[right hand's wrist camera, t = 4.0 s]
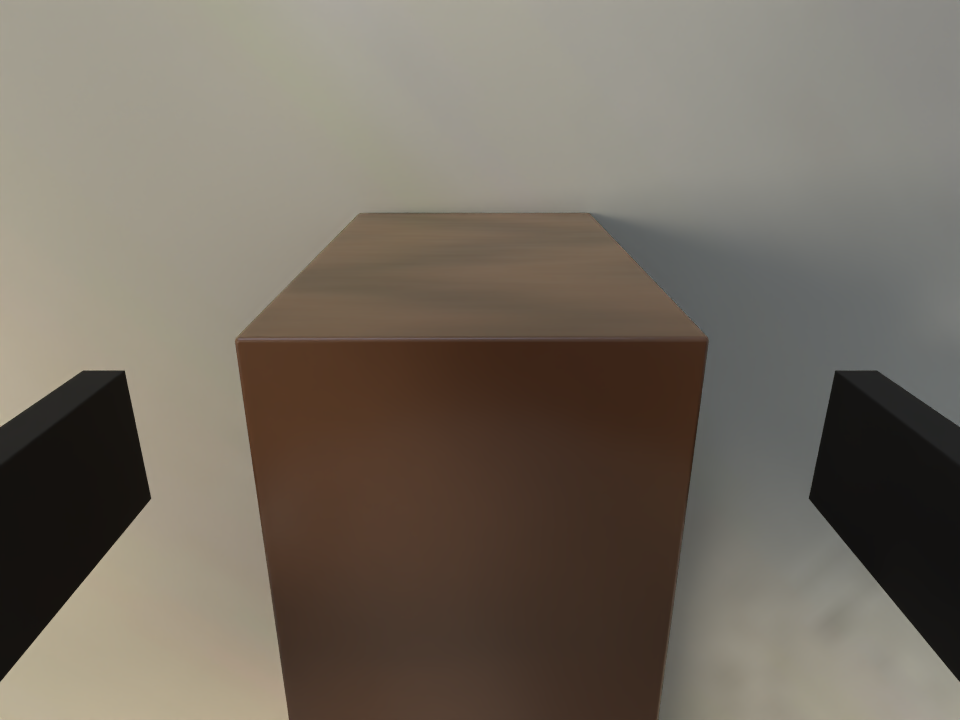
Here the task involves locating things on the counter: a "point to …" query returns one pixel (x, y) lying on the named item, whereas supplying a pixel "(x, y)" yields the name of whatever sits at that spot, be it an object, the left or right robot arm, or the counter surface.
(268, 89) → the counter surface
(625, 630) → the plank
